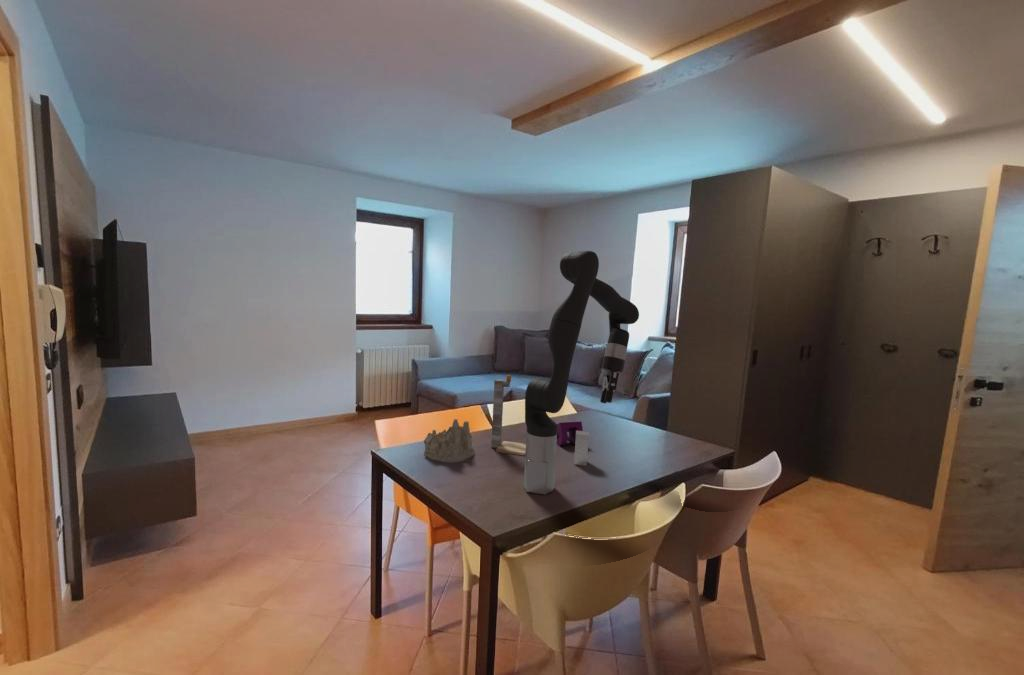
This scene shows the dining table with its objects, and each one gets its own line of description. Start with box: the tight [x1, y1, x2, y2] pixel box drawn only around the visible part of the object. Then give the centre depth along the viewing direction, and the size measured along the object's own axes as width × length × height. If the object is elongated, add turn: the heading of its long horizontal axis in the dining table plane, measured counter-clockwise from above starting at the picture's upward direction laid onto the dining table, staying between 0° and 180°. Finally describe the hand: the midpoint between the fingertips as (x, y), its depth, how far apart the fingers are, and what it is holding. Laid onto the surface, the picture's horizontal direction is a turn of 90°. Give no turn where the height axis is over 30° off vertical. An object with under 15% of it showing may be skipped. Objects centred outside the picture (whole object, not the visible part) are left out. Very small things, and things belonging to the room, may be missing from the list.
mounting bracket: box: [556, 421, 584, 446], centre depth 181 cm, size 9×8×18 cm
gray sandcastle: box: [423, 418, 476, 464], centre depth 158 cm, size 16×16×15 cm
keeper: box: [490, 374, 526, 457], centre depth 167 cm, size 11×14×28 cm
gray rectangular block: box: [573, 430, 590, 467], centre depth 156 cm, size 4×4×11 cm
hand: (605, 402), depth 154 cm, fingers open, 8 cm apart
